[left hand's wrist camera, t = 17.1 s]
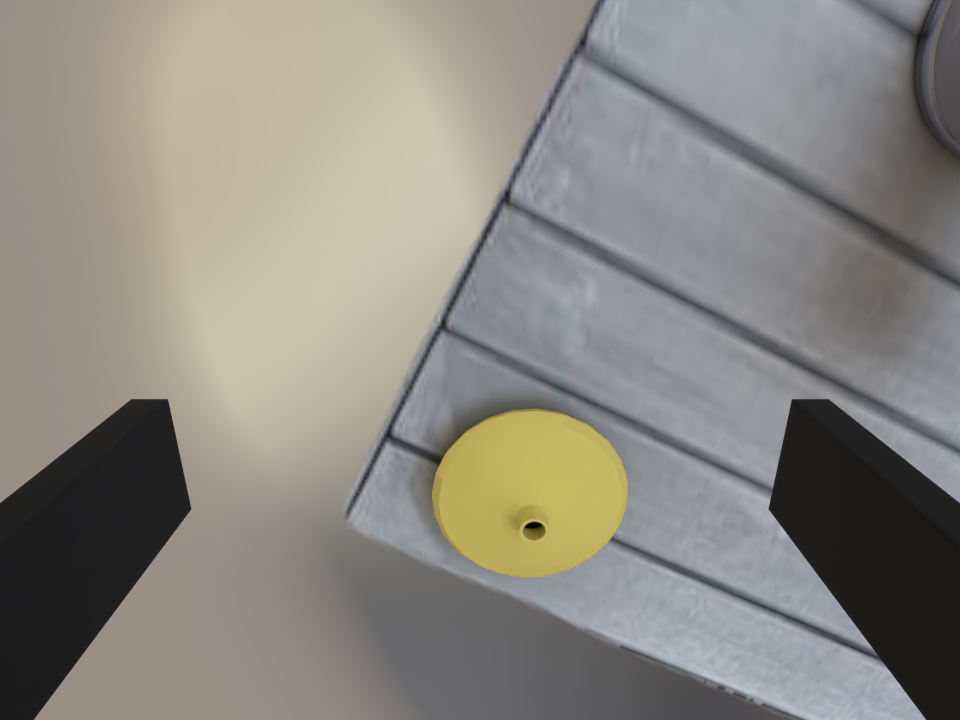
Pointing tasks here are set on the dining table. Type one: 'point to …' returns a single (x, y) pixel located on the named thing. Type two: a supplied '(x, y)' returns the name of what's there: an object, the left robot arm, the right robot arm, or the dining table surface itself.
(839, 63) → the dining table surface
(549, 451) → the vase
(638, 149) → the dining table surface
